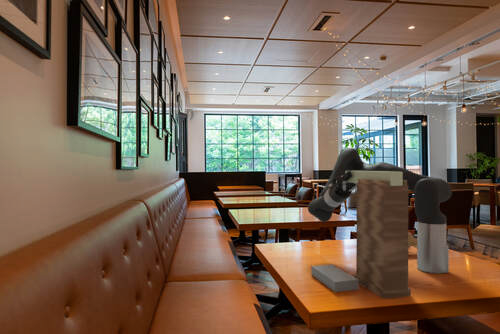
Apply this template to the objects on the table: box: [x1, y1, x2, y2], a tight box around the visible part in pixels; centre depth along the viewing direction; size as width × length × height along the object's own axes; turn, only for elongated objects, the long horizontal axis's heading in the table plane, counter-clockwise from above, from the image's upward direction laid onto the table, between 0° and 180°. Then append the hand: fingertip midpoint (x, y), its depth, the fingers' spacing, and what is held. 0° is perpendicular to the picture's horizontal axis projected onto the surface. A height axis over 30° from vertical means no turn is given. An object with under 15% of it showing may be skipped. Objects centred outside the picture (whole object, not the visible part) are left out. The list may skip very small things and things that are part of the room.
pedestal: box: [353, 179, 412, 300], centre depth 100 cm, size 15×9×34 cm, turn 15°
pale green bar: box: [345, 171, 403, 186], centre depth 105 cm, size 24×4×4 cm, turn 15°
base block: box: [310, 263, 359, 293], centre depth 106 cm, size 16×8×3 cm, turn 15°
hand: (358, 173), depth 112 cm, fingers open, 5 cm apart
